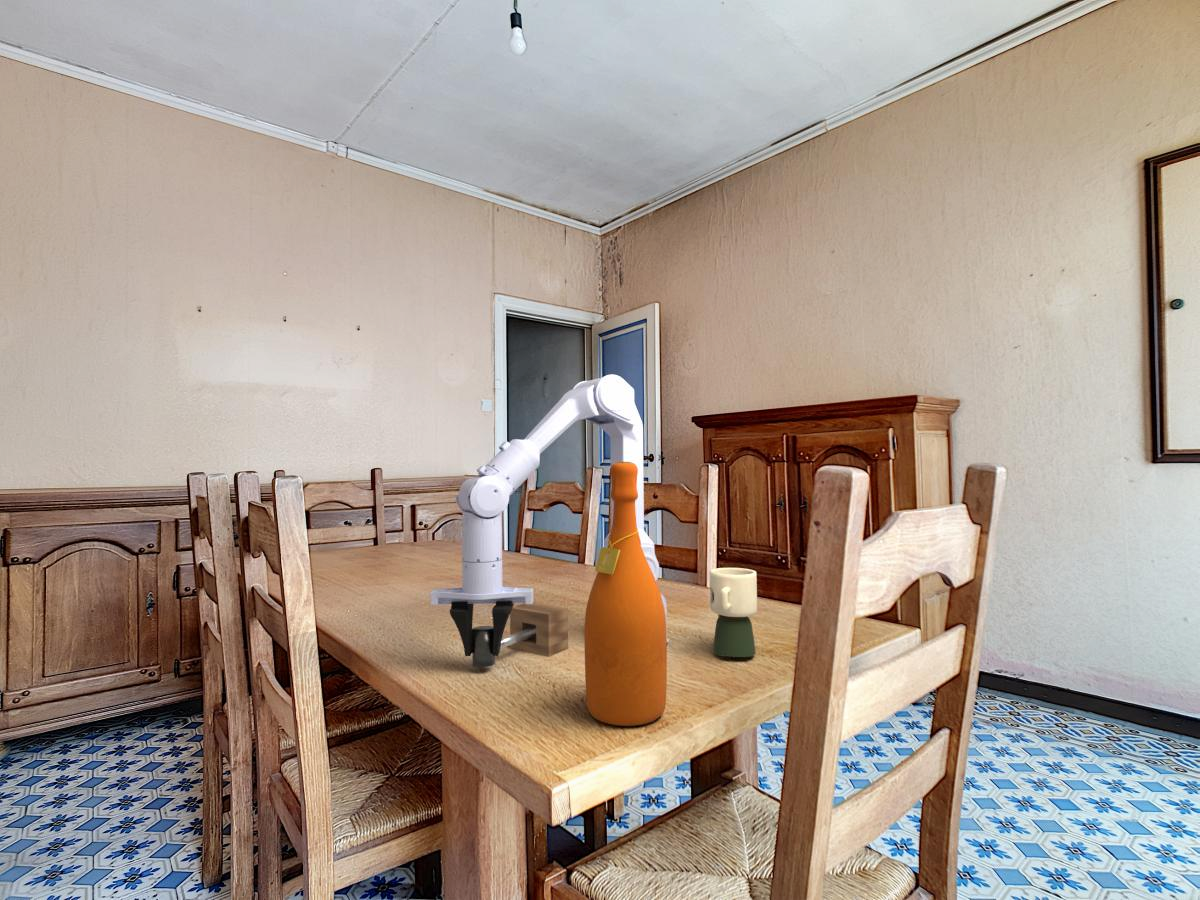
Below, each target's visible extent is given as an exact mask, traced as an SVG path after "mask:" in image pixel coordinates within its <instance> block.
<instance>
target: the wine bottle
mask: <svg viewBox="0 0 1200 900" xmlns="http://www.w3.org/2000/svg"><path fill="white" fill-rule="evenodd" d="M609 474H610V484H611V483H612V489H611V488H610V499H611V498H612V500H613V501H614V510H613V524H612V529H611V528H610V531H611V533H610V532H609V533H610V535H609V536H610V537H608V539H609V540H608V544H609V545H608V548H606V547H604V546H601V547H600V550H599V554H598V557H597V560H596V565H595V569H594V570H595V573H596V572H597V574H596V576H595V578H594V581H593V583H592V587H591V589H590V593H589V595H588V599H587V603H586V608H585V616H584V631H583V632H584V633H583V634H584V674H585V675H584V677H585V697H586V698H585V699H586V707H587V710H588V712H589V714H590V715H591V716H592V717H593V718H595V719H596V720H598V721H600V722H602V723H605V724H608V725H613V726H620V727H621V726H622V727H630V726H631V727H632V726H642V725H646V724H649V723H652V722H654V721H655V720H657V719H658V718H660V717H661V716H662V715H663V713H664V712H665V709H666V703H667V675H668V674H667V673H668V670H667V668H668V664H667V663H668V657H667V656H668V655H667V654H668V650H667V649H668V648H667V647H668V646H667V645H668V643H667V639H668V629H667V630H666V616H665V609H664V605H663V601H662V597H661V594H662V593H661V592H660V588H659V586H658V583H657V581H656V580H655V578H654V575H653V573H652V571H651V569H650V566H649V564H648V562H647V560H646V557H645V555H644V552H643V550H642V547H641V540H640V537H639V532H638V528H637V524H636V511H635V500H636V499H637V498H638V492H637V474H638V468H637V466H636V465H635V464H634V463H632V462H616V463H614V464H613V465H611V464H610V468H609Z"/></svg>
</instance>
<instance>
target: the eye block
mask: <svg viewBox="0 0 1200 900" xmlns="http://www.w3.org/2000/svg"><path fill="white" fill-rule="evenodd" d="M531 627H536V636H533V637H530V638H528V639H525V640H522V641H520V642H517V643H514V644H512V645H509V648H510V649H511V650H517V651H521V652H522V651H523V652H527V653H530V654H536V655H541V656H544V657H551V656H553V655H555V654H558V653H560V652H563V651H565V650H568V649H569V607H565V606H560V605H554V604H553V605H552V604H546V603H542V602H541V603H540V602H534V601H533V603H532V604H525V603H520V604H519V605H518V604H517V605H513V608H512V610H511V612H510V615H509V635H511V634H514V633H517V632H520V631H523V630H526V629H528V628H531Z"/></svg>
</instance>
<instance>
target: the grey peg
mask: <svg viewBox="0 0 1200 900" xmlns="http://www.w3.org/2000/svg"><path fill="white" fill-rule="evenodd" d="M493 636H494V632H493V625H480V626H475V627H472V654H471V658H472V659H471V661H472V662H471V663H472V664H471V665H472V666H474V667H475V668H476V667H477V668H487V667H492V666H494V665H495V664H496V656H493ZM533 636H536V627H531V628H528V629H526V630H523V631H520V632H517V633H514V634H511V635H510V634H509V635H506V636H502V641H501V647H500V650H501V649H504V648H505V647H510V645H512V644H514V643H517V642H520V641H522V640H525V639H528V638H530V637H533Z"/></svg>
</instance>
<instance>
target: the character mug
mask: <svg viewBox="0 0 1200 900" xmlns="http://www.w3.org/2000/svg"><path fill="white" fill-rule="evenodd" d="M757 579H758V578H757V571H756V570H753V569H749V568H741V567H719V568H712V569H710V570H709V590H710V592H709V593H710V595H709V596H710V597H709V600H710V601H709V607H710V610H711V612H713V613H714V614H717V616H718V617H717V619H716V623H715V631H714V638H713V650H712V651H713V652H714V654H715V655H717V656H719V657H729V658H730V660H733V659H734V658H735V657H736V658H749V657H754V656H755V655H756V646H755V637H754V636H755V635H754V630H753V624H752V621H751V619H750V617H751V616H754V615H756V614H757V611H758V589H757V588H758V585H757V583H758V582H757Z"/></svg>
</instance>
